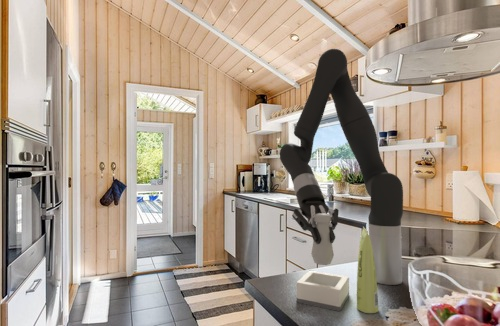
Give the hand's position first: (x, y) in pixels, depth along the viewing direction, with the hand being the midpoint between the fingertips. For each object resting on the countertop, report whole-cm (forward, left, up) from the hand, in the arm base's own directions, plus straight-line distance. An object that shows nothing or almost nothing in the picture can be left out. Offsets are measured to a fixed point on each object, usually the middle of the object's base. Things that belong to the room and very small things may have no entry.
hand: (325, 241), depth 79 cm
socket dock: (-2, -1, -15) cm, 15 cm away
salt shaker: (-2, -1, -6) cm, 6 cm away
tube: (0, +10, -15) cm, 18 cm away
